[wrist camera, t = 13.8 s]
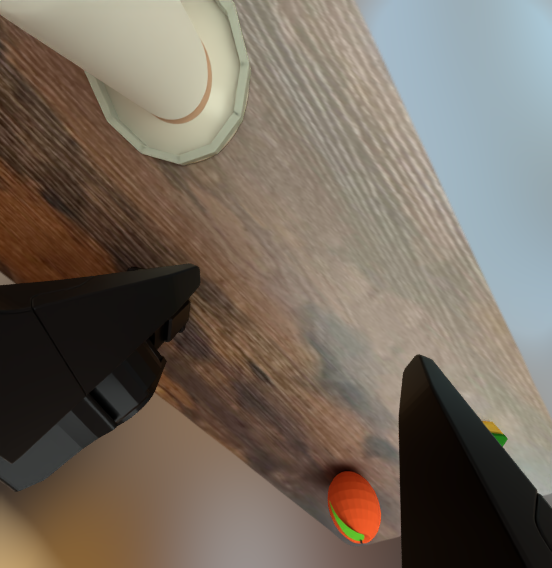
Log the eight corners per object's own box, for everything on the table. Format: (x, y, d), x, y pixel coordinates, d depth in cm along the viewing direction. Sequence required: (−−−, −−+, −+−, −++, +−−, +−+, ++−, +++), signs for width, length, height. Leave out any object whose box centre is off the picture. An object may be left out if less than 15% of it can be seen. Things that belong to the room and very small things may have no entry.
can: (208, 128, 17) (62, -6, 6) (129, 114, 17) (-160, -47, 6) (213, 20, 15) (-5, -502, 4) (122, 3, 15) (-362, -575, 4)
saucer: (101, 142, 19) (88, 138, 18) (93, -59, 14) (76, -82, 13) (234, 179, 19) (230, 178, 18) (265, -5, 15) (263, -23, 14)
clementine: (309, 473, 33) (314, 540, 27) (338, 450, 31) (352, 517, 25) (349, 493, 35) (363, 562, 28) (379, 473, 32) (403, 542, 26)
